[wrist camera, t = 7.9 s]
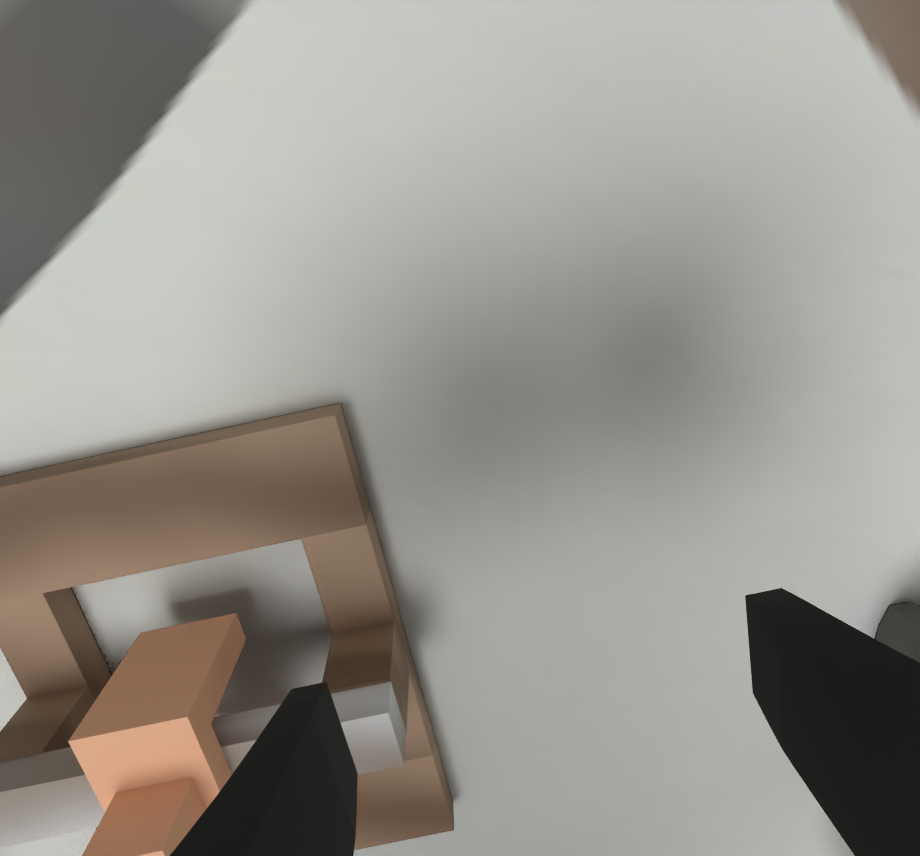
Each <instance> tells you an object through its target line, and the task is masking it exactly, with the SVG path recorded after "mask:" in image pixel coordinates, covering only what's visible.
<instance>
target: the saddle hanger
mask: <svg viewBox="0 0 920 856" xmlns="http://www.w3.org/2000/svg"><path fill="white" fill-rule="evenodd" d="M245 642H246V638H245V635H244V632H243V630H242V627H241V624H240V622H239V619H238V617H237V614H236V613H233V614H228V615H223V616H218V617H214V618H209V619H204V620H199V621H195V622H190V623H185V624H180V625H175V626H171V627H166V628H161V629H156V630H152V631H147V632H142V633H140V634H139V636H138V637H137V639H136V640H135V642H134V643H133V645H132V646H131V648H130V649H129V651H128V652H127V654H126V655H125V657H124V658H123V660H122V661H121V663H120V664H119V666H118V667H117V669H116V670H115V672H114V673H113V675H112V676H111V678H110V679H109V681H108V682H107V684H106V685H105V687H104V688H103V690H102V691H101V693H100V694H99V696H98V697H97V699H96V700H95V702H94V703H93V705H92V706H91V708H90V709H89V711H88V712H87V714H86V715H85V717H84V718H83V720H82V721H81V723H80V724H79V726H78V727H77V729H76V730H75V732H74V733H73V735H72V736H71V738H70V739H69V741H68V742H69V744H70V746H71V748H72V750H73V752H74V754H75V756H76V758H77V760H78V762H79V764H80V766H81V767H82V769H83V771H84V773H85V775H86V777H87V779H88V781H89V783H90V785H91V787H92V789H93V791H94V793H95V795H96V796H97V798H98V800H99V802H100V804H101V806H102V808H103V810H104V812H105V814H104V815H103V817H102V819H101V821H100V823H99V825H98V827H97V829H96V831H95V832H94V834H93V836H92V838H91V840H90V842H89V844H88V846H87V848H86V849H85V851H84V853H83V855H82V856H170V855H171V853H172V852H173V851H174V850H175V849H176V847H177V846H178V845H179V843H180V842H181V841H182V840H183V838H184V837H185V836H186V834H187V833H188V832H189V831H190V829H191V828H192V827H193V825H194V824H195V823H196V822H197V820H198V819H199V818H200V816H201V815H202V814H203V813H204V811H205V810H206V809H207V808H208V806H209V805H210V804H211V802H212V801H213V800H214V799H215V797H216V796H217V795H218V793H219V792H220V790H221V789H222V788H223V786H224V785H225V784H226V782H227V781H228V779H229V778H230V777H231V775H232V773H231V770H230V768H229V765H228V763H227V761H226V758H225V756H224V754H223V751H222V749H221V746H220V744H219V742H218V739H217V737H216V735H215V732H214V730H213V727H212V725H211V724H212V721H213V719H214V716H215V714H216V712H217V709H218V707H219V704H220V702H221V700H222V697H223V695H224V692H225V690H226V688H227V685H228V683H229V680H230V678H231V675H232V673H233V671H234V668H235V666H236V663H237V661H238V659H239V656H240V654H241V651H242V649H243V647H244V644H245Z"/></svg>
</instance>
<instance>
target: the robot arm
mask: <svg viewBox="0 0 920 856" xmlns="http://www.w3.org/2000/svg"><path fill="white" fill-rule="evenodd" d="M745 597H746V610H747V623H748V636H749V648H750V661H751V674H752V687H753V694H754V696H755V698H756V700H757V702H758V704H759V706H760V708H761V710H762V712H763V714H764V716H765V718H766V719H767V721H768V723H769V725H770V727H771V729H772V731H773V733H774V735H775V736H776V738H777V740H778V742H779V744H780V746H781V747H782V749H783V751H784V753H785V754H786V756H787V757H788V759H789V760H790V762H791V763H792V765H793V766H794V768H795V769H796V771H797V772H798V773H799V775H800V776H801V778H802V779H803V781H804V782H805V784H806V785H807V787H808V788H809V790H810V791H811V793H812V794H813V796H814V797H815V798H816V800H817V801H818V803H819V804H820V806H821V807H822V809H823V810H824V812H825V813H826V814H827V816H828V817H829V819H830V820H831V822H832V823H833V825H834V826H835V828H836V829H837V830H838V832H839V833H840V835H841V836H842V838H843V839H844V841H845V842H846V844H847V845H848V846H849V848H850V849H851V851H852V852H853V854H854V855H855V856H920V663H919V662H917V661H916V660H914V659H912V658H910V657H908V656H906V655H904V654H902V653H900V652H898V651H896V650H894V649H892V648H890V647H889V646H887V645H885V644H883V643H881V642H879V641H877V640H875V639H873V638H872V637H870V636H868V635H866V634H864V633H862V632H861V631H859V630H857V629H855V628H853V627H852V626H850V625H848V624H846V623H844V622H842V621H841V620H839V619H837V618H835V617H833V616H832V615H830V614H828V613H826V612H825V611H823V610H821V609H819V608H817V607H816V606H814V605H812V604H810V603H808V602H807V601H805V600H803V599H801V598H799V597H797V596H796V595H794V594H792V593H790V592H788V591H786V590H784V589H782V588H780V589H775V590H770V591H765V592H760V593H756V594H751V595H746V596H745ZM357 779H358V773H357V770H356V767H355V764H354V761H353V758H352V755H351V752H350V749H349V746H348V743H347V741H346V738H345V735H344V732H343V729H342V726H341V723H340V720H339V717H338V714H337V711H336V708H335V705H334V702H333V699H332V696H331V693H330V690H329V688H328V685H327V682H324V683H319V684H314V685H309V686H305V687H300V688H295V689H292V690H291V691H290V693H289V694H288V695H287V697H286V698H285V699H284V701H283V702H282V704H281V705H280V707H279V708H278V709H277V711H276V712H275V714H274V715H273V717H272V718H271V720H270V721H269V722H268V724H267V725H266V727H265V728H264V730H263V731H262V733H261V734H260V735H259V737H258V738H257V740H256V741H255V743H254V744H253V746H252V747H251V748H250V750H249V751H248V753H247V754H246V756H245V757H244V759H243V760H242V761H241V763H240V764H239V765H238V767H237V768H236V770H235V771H234V772H233V774H232V775H231V777H230V778H229V779H228V781H227V782H226V784H225V785H224V786H223V788H222V789H221V790H220V792H219V793H218V795H217V796H216V797H215V799H214V800H213V801H212V802H211V804H210V805H209V806H208V808H207V809H206V810H205V811H204V813H203V814H202V815H201V816H200V818H199V819H198V820H197V822H196V823H195V824H194V825H193V827H192V828H191V829H190V831H189V832H188V833H187V834H186V836H185V837H184V838H183V840H182V841H181V842H180V843H179V845H178V846H177V847H176V849H175V850H174V851H173V852H172V853H171V855H170V856H353V853H354V846H355V838H356V818H357Z"/></svg>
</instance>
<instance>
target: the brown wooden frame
mask: <svg viewBox="0 0 920 856" xmlns="http://www.w3.org/2000/svg"><path fill="white" fill-rule="evenodd" d="M297 539H301V540H302V543H303V546H304V549H305V552H306V555H307V558H308V561H309V565H310V568H311V571H312V574H313V577H314V580H315V583H316V586H317V589H318V592H319V595H320V598H321V601H322V604H323V607H324V610H325V614H326V617H327V620H328V623H329V626H330V629H331V632H332V640H331V644H330V649H329V653H328V658H327V662H326V667H325V672H324V676H323V681H322V683H324V682H327V685H328V688H329V690H330V693H331V696H332V699H333V702H334V705H335V708H336V711H337V714H338V717H339V720H340V723H341V726H342V729H343V732H344V735H345V738H346V741H347V743H348V746H349V749H350V752H351V755H352V758H353V761H354V764H355V767H356V770H357V773H358V779H357V818H356V838H355V846H354V850H357V849H362V848H367V847H372V846H377V845H382V844H387V843H392V842H397V841H402V840H407V839H412V838H417V837H422V836H427V835H432V834H437V833H442V832H447V831H452V830H454V814H453V800H452V796H451V793H450V789H449V786H448V782H447V779H446V775H445V772H444V768H443V764H442V761H441V757H440V754H439V750H438V747H437V743H436V740H435V736H434V733H433V729H432V726H431V722H430V718H429V715H428V711H427V708H426V704H425V701H424V697H423V694H422V690H421V687H420V683H419V680H418V676H417V673H416V669H415V665H414V662H413V658H412V655H411V651H410V648H409V644H408V641H407V637H406V634H405V630H404V627H403V623H402V619H401V616H400V612H399V609H398V605H397V602H396V598H395V595H394V591H393V588H392V584H391V581H390V577H389V574H388V570H387V566H386V563H385V559H384V556H383V552H382V549H381V545H380V542H379V538H378V535H377V531H376V528H375V524H374V520H373V517H372V513H371V510H370V506H369V503H368V499H367V496H366V492H365V489H364V485H363V482H362V478H361V475H360V471H359V467H358V464H357V460H356V457H355V453H354V450H353V446H352V443H351V439H350V436H349V432H348V429H347V425H346V421H345V418H344V414H343V411H342V407H341V404H340V403H338V404H333V405H329V406H324V407H320V408H315V409H310V410H306V411H301V412H296V413H292V414H287V415H283V416H278V417H273V418H269V419H264V420H259V421H255V422H250V423H246V424H241V425H236V426H232V427H227V428H222V429H218V430H213V431H209V432H204V433H199V434H195V435H190V436H186V437H181V438H176V439H172V440H167V441H162V442H158V443H153V444H149V445H144V446H139V447H135V448H130V449H125V450H121V451H116V452H112V453H107V454H102V455H98V456H93V457H88V458H84V459H79V460H75V461H70V462H65V463H61V464H56V465H51V466H47V467H42V468H38V469H33V470H28V471H24V472H19V473H15V474H10V475H5V476H1V477H0V648H1V650H2V652H3V654H4V655H5V657H6V659H7V661H8V663H9V665H10V667H11V669H12V671H13V672H14V674H15V676H16V678H17V680H18V682H19V684H20V686H21V688H22V690H23V691H24V693H25V695H26V697H27V699H26V701H25V702H24V703H23V704H22V706H21V707H20V708H19V709H18V711H17V712H16V713H15V714H14V716H13V717H12V718H11V719H10V721H9V722H8V723H7V724H6V725H5V727H4V728H3V729H2V730H1V732H0V847H3V846H8V845H13V844H18V843H23V842H28V841H33V840H37V839H42V838H47V837H52V836H57V835H62V834H67V833H72V832H77V831H82V830H87V829H92V828H96V829H97V827H98V825H99V823H100V821H101V819H102V817H103V815H104V814H105V812H104V810H103V808H102V806H101V804H100V802H99V800H98V798H97V796H96V795H95V793H94V791H93V789H92V787H91V785H90V783H89V781H88V779H87V777H86V775H85V773H84V771H83V769H82V767H81V766H80V764H79V762H78V760H77V758H76V756H75V754H74V752H73V750H72V748H71V746H70V744H69V742H68V741H69V739H70V738H71V736H72V735H73V733H74V732H75V730H76V729H77V727H78V726H79V724H80V723H81V721H82V720H83V718H84V717H85V715H86V714H87V712H88V711H89V709H90V708H91V706H92V705H93V703H94V702H95V700H96V699H97V697H98V696H99V694H100V693H101V691H102V690H103V688H104V687H105V685H106V684H107V682H108V681H109V679H110V678H111V676H112V675H111V673H110V670H109V668H108V666H107V664H106V662H105V660H104V658H103V656H102V653H101V651H100V649H99V647H98V645H97V643H96V641H95V638H94V636H93V634H92V632H91V630H90V628H89V626H88V624H87V621H86V619H85V617H84V615H83V613H82V611H81V609H80V607H79V604H78V602H77V600H76V598H75V596H74V594H73V592H72V590H71V587H74V586H79V585H84V584H89V583H93V582H98V581H103V580H108V579H112V578H117V577H122V576H126V575H131V574H136V573H141V572H145V571H150V570H155V569H160V568H164V567H169V566H174V565H178V564H183V563H188V562H193V561H197V560H202V559H207V558H211V557H216V556H221V555H226V554H230V553H235V552H240V551H245V550H249V549H254V548H259V547H263V546H268V545H273V544H278V543H282V542H287V541H292V540H297ZM280 705H281V704H278V705H273V706H268V707H263V708H259V709H254V710H249V711H244V712H239V713H234V714H229V715H225V716H220V717H215V718H214V719H213V721H212V724H211V725H212V727H213V730H214V732H215V735H216V737H217V739H218V742H219V744H220V746H221V749H222V751H223V754H224V756H225V758H226V761H227V763H228V765H229V768H230V770H231V773H232V774H233V772H234V771H235V770H236V768H237V767H238V765H239V764H240V763H241V761H242V760H243V759H244V757H245V756H246V754H247V753H248V751H249V750H250V748H251V747H252V746H253V744H254V743H255V741H256V740H257V738H258V737H259V735H260V734H261V733H262V731H263V730H264V728H265V727H266V725H267V724H268V722H269V721H270V720H271V718H272V717H273V715H274V714H275V712H276V711H277V709H278V708H279V707H280Z"/></svg>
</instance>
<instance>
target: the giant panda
mask: <svg viewBox="0 0 920 856" xmlns="http://www.w3.org/2000/svg"><path fill="white" fill-rule="evenodd" d="M875 640H877V641H879V642H881V643H883V644H885V645H887V646H889V647H890V648H892V649H894V650H896V651H898V652H900V653H902V654H904V655H906V656H908V657H910V658H912V659H914V660H916V661H917V662H919V663H920V606H917V605H915V604H912V603H910V602H905V603H901V604H896V605H892V606H889V608H888V610H887V612H886V614H885V616H884V617H883V619H882V621H881V623H880V625H879V628H878V631H877V635H876V639H875Z"/></svg>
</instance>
